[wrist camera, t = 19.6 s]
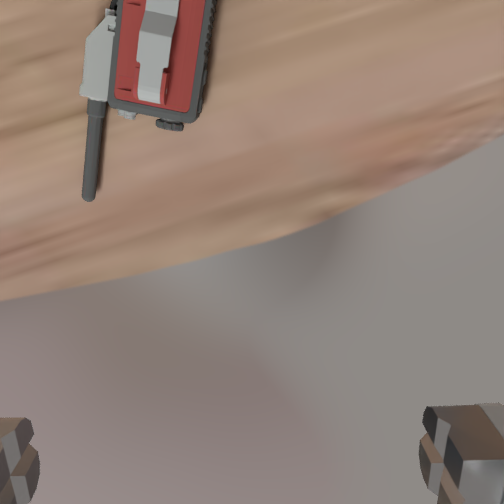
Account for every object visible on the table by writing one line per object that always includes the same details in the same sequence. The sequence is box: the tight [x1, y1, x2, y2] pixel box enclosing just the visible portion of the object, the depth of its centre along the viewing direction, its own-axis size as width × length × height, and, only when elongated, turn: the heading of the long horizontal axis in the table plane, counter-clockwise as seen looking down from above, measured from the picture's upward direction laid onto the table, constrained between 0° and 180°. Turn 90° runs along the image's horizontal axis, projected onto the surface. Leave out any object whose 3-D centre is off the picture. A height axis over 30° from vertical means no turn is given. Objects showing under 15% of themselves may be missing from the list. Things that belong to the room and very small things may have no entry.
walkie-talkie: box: [79, 0, 217, 202], centre depth 34 cm, size 9×4×20 cm
